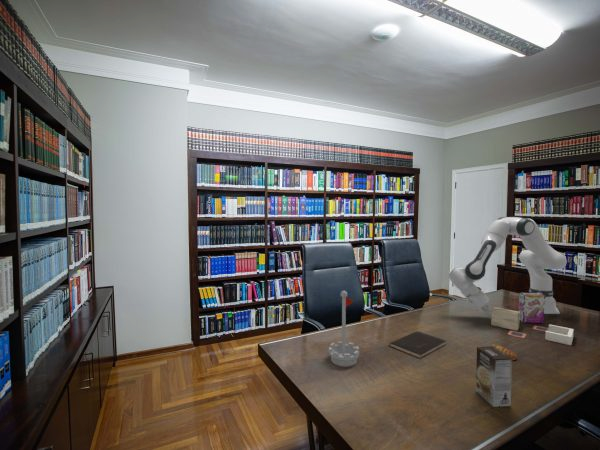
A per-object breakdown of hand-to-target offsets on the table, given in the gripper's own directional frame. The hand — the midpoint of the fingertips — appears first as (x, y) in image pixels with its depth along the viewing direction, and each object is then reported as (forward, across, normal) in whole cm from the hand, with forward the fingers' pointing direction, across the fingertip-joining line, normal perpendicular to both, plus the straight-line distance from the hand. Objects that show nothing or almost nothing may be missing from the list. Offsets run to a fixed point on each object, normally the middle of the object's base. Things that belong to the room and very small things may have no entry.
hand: (490, 312), depth 172 cm
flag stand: (-18, -95, +27) cm, 101 cm away
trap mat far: (+20, +9, -12) cm, 25 cm away
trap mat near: (+14, -10, -6) cm, 18 cm away
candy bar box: (+16, +19, -7) cm, 26 cm away
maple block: (+9, 0, -1) cm, 9 cm away
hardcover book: (-7, -58, +16) cm, 61 cm away
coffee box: (+18, -81, -10) cm, 84 cm away
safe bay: (+26, 0, -17) cm, 31 cm away
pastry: (+15, -42, -6) cm, 45 cm away
